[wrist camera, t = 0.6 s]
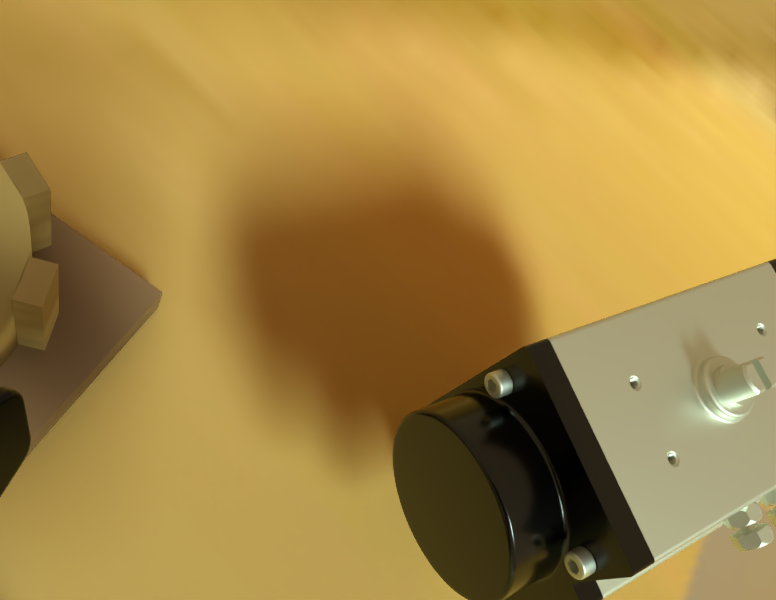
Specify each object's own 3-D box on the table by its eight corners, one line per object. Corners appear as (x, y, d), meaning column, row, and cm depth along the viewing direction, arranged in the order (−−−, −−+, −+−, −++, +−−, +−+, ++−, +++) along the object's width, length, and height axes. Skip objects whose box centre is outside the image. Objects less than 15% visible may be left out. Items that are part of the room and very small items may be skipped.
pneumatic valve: (305, 471, 23) (498, 345, 13) (572, 368, 29) (851, 225, 18) (371, 648, 22) (644, 663, 11) (637, 503, 27) (976, 428, 17)
